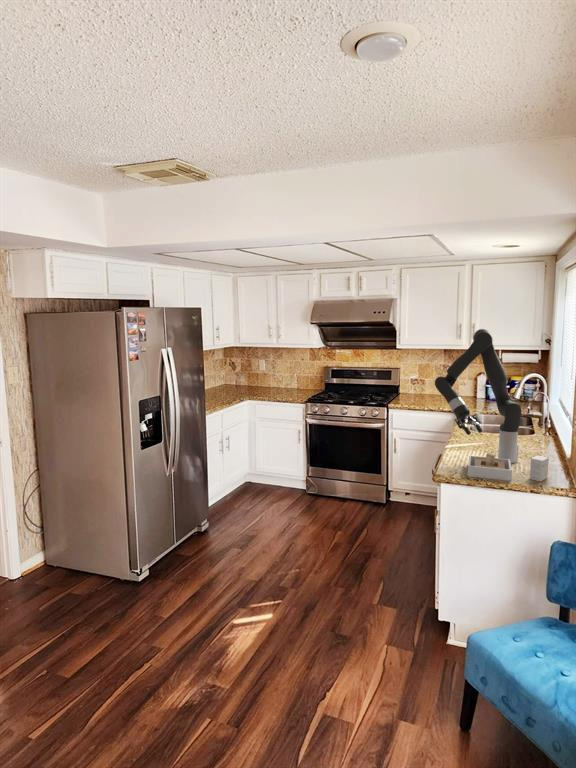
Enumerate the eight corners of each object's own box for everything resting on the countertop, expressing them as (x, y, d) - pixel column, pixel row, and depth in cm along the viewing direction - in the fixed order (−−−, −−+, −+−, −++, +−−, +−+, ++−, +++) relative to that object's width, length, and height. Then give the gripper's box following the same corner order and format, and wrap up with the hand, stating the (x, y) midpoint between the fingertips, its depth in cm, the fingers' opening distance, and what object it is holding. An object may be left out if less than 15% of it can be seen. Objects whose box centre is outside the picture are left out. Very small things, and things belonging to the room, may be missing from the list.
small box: (535, 475, 259) (537, 455, 257) (547, 478, 255) (548, 457, 253) (529, 479, 253) (530, 458, 252) (540, 481, 249) (542, 460, 248)
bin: (468, 465, 275) (469, 455, 274) (509, 469, 268) (510, 459, 267) (467, 476, 257) (468, 465, 256) (511, 481, 250) (511, 470, 249)
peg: (489, 470, 265) (490, 453, 264) (495, 472, 262) (496, 455, 261) (483, 471, 263) (484, 454, 262) (490, 473, 260) (491, 456, 259)
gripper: (453, 405, 270) (470, 430, 261) (472, 402, 277) (489, 427, 268) (445, 413, 275) (461, 438, 267) (464, 410, 282) (480, 435, 274)
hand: (475, 433), depth 268 cm, fingers open, 8 cm apart
